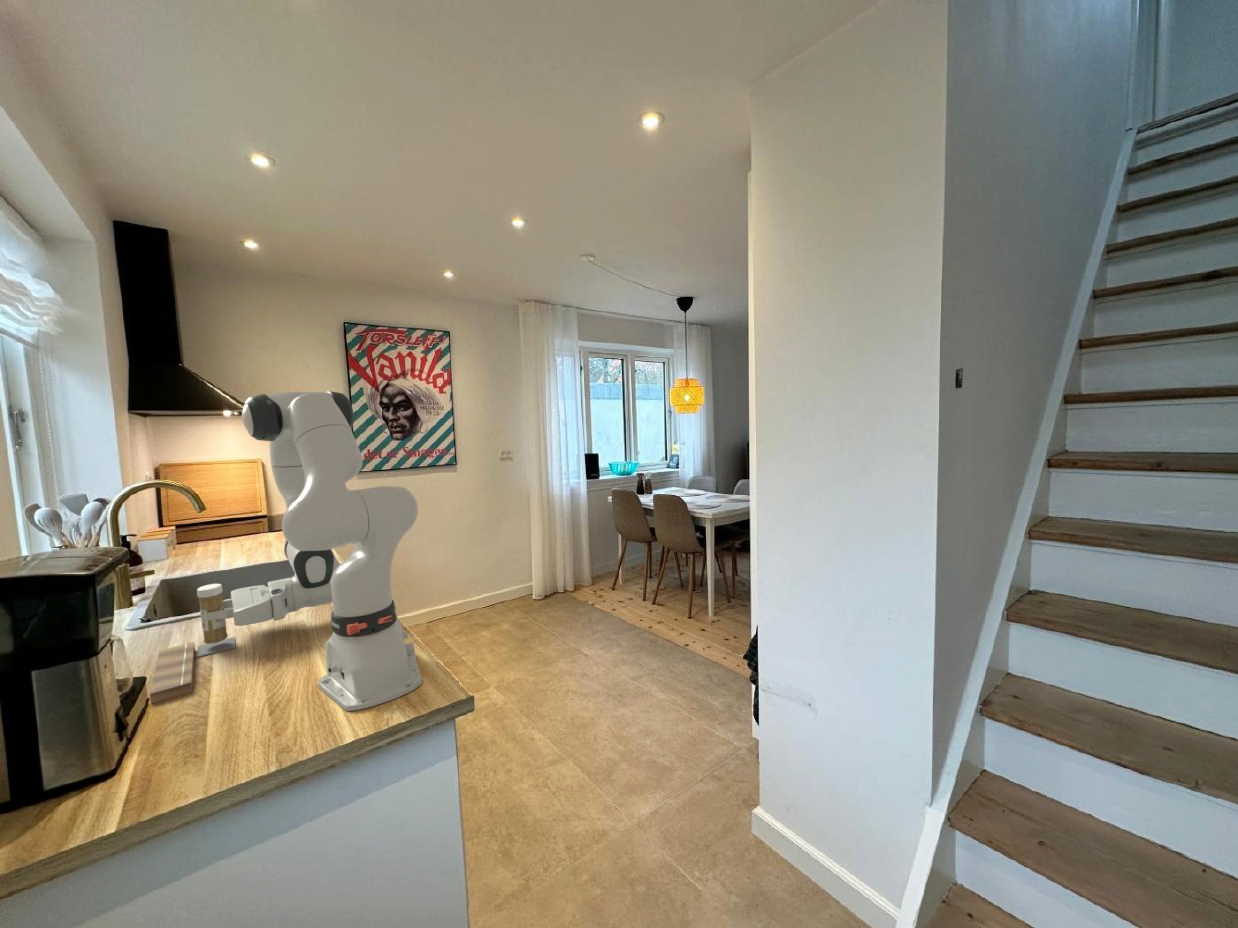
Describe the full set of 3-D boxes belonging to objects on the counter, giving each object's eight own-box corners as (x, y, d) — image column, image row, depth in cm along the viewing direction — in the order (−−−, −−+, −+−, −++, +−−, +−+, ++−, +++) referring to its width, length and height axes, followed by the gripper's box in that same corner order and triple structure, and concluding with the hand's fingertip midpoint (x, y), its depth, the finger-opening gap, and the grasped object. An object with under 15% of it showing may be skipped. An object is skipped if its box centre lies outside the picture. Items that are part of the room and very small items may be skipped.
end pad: (235, 647, 117) (235, 646, 117) (197, 657, 113) (197, 656, 113) (234, 638, 123) (234, 636, 123) (197, 647, 118) (197, 646, 118)
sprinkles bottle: (226, 640, 117) (220, 587, 116) (202, 646, 115) (195, 591, 113) (228, 633, 121) (222, 581, 119) (205, 638, 118) (198, 585, 117)
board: (192, 691, 98) (190, 681, 98) (151, 703, 95) (149, 693, 94) (195, 650, 117) (194, 641, 117) (160, 658, 113) (159, 649, 113)
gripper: (272, 576, 133) (206, 588, 124) (280, 596, 117) (205, 612, 108) (275, 598, 133) (209, 612, 125) (283, 621, 118) (209, 639, 109)
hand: (207, 612), depth 116 cm, fingers closed on sprinkles bottle, 4 cm apart
